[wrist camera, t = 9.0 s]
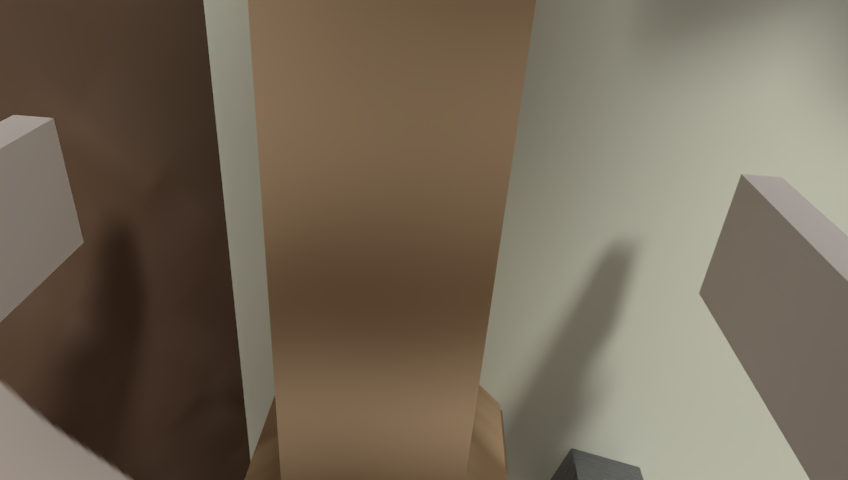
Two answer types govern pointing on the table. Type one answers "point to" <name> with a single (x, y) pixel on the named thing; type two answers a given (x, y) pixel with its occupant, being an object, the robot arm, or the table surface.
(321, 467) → the link
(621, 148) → the board
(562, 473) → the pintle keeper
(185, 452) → the table surface
